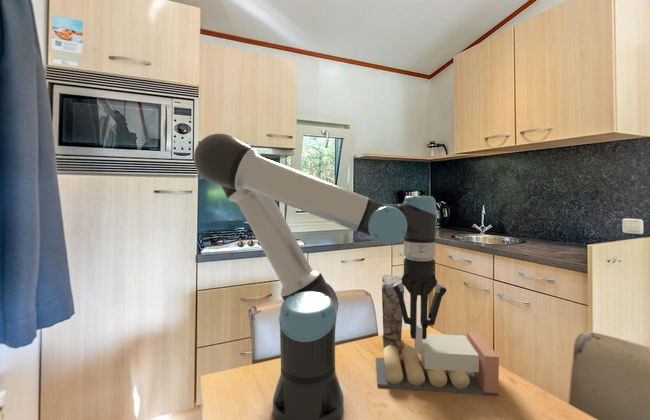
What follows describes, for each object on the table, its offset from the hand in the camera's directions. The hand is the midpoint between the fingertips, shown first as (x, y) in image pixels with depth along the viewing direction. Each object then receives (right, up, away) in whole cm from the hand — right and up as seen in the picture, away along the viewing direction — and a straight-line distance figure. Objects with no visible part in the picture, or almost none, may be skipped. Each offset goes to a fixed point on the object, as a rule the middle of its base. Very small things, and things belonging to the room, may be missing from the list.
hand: (418, 350), depth 77 cm
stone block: (-3, -6, +17) cm, 18 cm away
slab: (+7, -2, -1) cm, 7 cm away
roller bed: (+3, -6, 0) cm, 7 cm away
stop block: (+15, -6, -2) cm, 16 cm away
